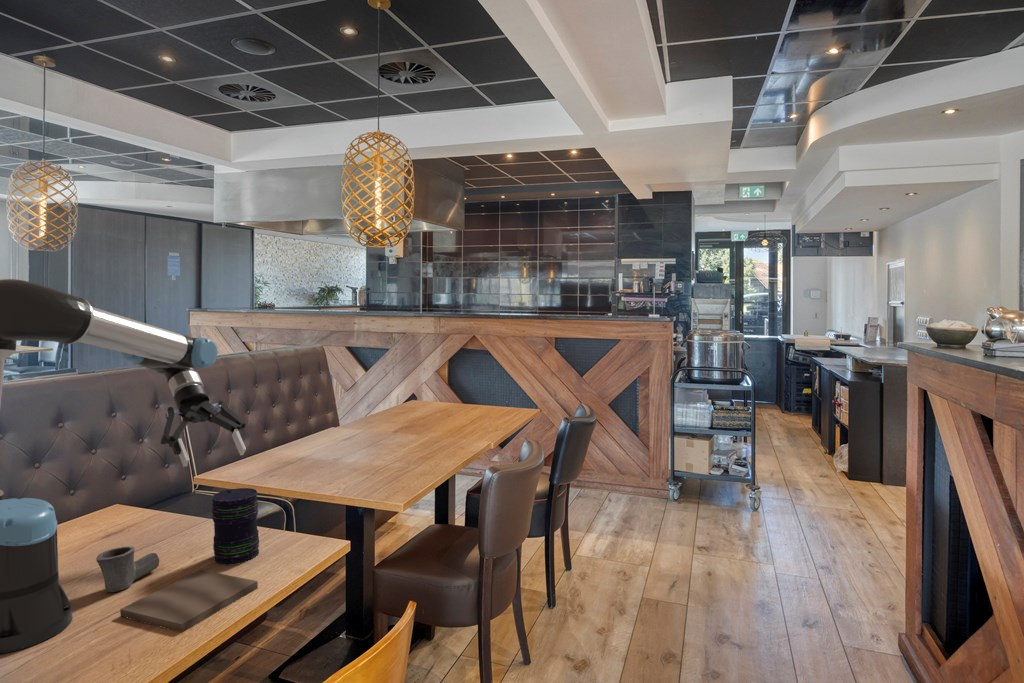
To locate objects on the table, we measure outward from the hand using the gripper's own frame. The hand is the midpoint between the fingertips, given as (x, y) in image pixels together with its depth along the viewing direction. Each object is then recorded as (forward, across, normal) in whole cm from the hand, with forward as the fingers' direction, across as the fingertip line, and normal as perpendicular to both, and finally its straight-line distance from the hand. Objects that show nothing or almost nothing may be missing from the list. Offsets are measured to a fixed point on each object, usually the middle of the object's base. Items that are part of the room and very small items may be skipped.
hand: (216, 457), depth 145 cm
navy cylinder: (+23, +1, -8) cm, 25 cm away
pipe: (+20, +22, -10) cm, 32 cm away
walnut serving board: (+34, +16, +3) cm, 38 cm away
